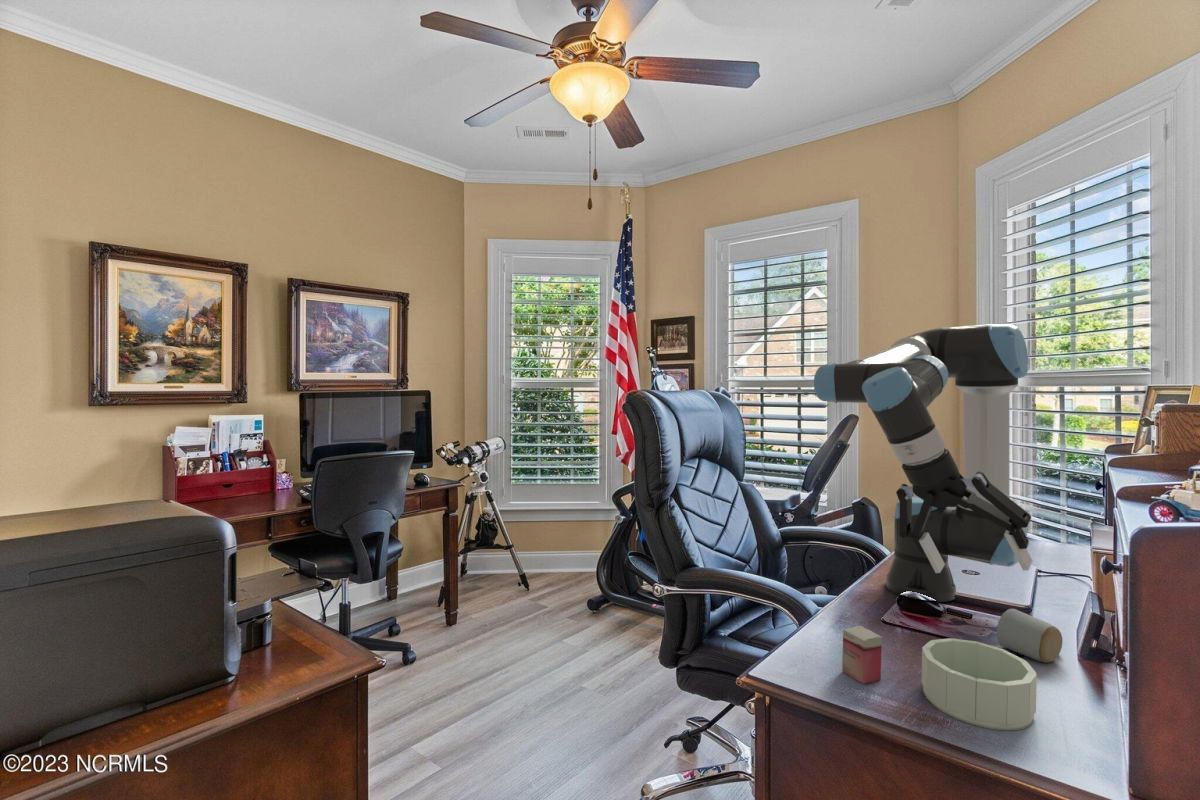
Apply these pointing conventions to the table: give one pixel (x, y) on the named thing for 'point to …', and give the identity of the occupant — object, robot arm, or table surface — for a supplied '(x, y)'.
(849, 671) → the small box
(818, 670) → the table surface
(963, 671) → the sage bowl
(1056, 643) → the ceramic mug
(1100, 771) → the table surface
